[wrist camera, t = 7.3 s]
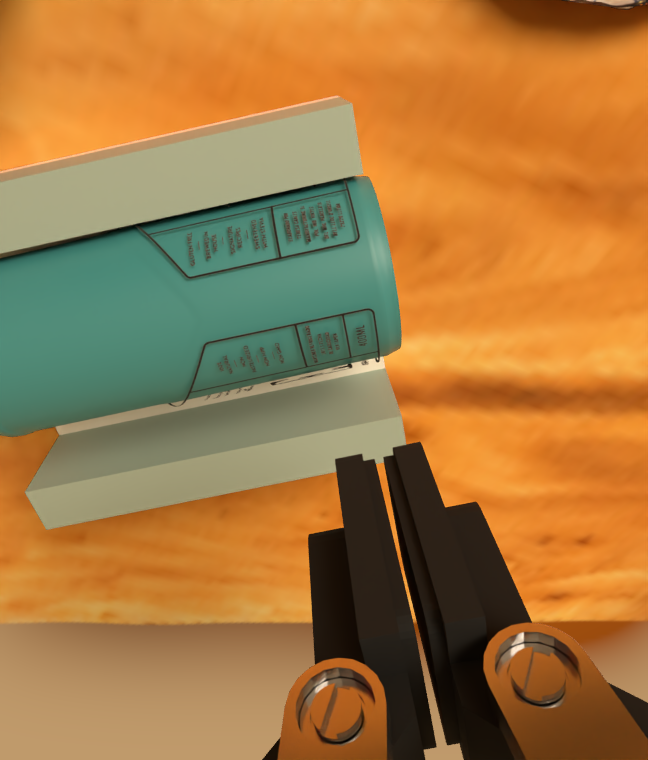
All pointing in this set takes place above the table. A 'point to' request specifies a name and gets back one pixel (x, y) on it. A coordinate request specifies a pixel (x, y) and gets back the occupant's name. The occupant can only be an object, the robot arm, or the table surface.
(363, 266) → the beverage bottle
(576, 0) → the burger
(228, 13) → the table surface
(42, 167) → the cradle
